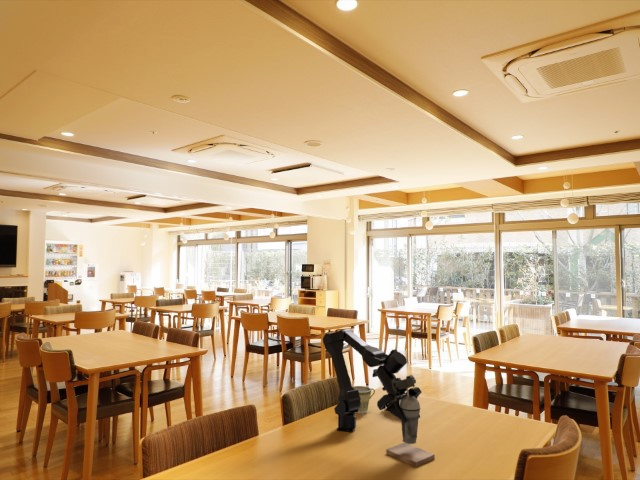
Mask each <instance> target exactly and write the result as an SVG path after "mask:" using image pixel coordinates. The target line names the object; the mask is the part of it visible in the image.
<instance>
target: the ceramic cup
mask: <svg viewBox="0 0 640 480" xmlns="http://www.w3.org/2000/svg"><path fill="white" fill-rule="evenodd" d="M352 387H353V388H354V389H355V390H358V391H359V396H360V398H361V400H360V401H361V405H360V407H359V410H358V412H356V413H355V414H360V415H361V414H366V413H368V410H369V404H370V400H371V398H372V397H373V396H374V395H375V393H376V390H375V388H373V387H372V388H370V387H369V386H365V385H354V386H352ZM372 391H373V393H372Z"/></svg>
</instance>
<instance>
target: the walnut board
mask: <svg viewBox="0 0 640 480" xmlns="http://www.w3.org/2000/svg"><path fill="white" fill-rule="evenodd" d="M385 451H386V455H389V456H390V457H393V458H395V459H397V460H399V461H402V462H404V463H406V464H408V465H411V466H413V467H415V468H417V467H420V466H422V465H424V464H426V463H429V462H430V461H433V460H435V458H436V457H435V456H436V455H435V454H434V453H432V452H430V451H427V450H425V449H422V448H419V447H417V446H415V445H414V444H407V443H405V442H402V443H399V444H397V445H394V446H392V447H388V448H386V449H385Z"/></svg>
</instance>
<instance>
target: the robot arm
mask: <svg viewBox="0 0 640 480" xmlns="http://www.w3.org/2000/svg"><path fill="white" fill-rule="evenodd" d="M344 342H345V343H346V344H347V345H349V347H351V348H352V349H354V350H355V351H356V352H357V353H359V355H361V358H362V361H363V362H364V363H365V364H366V366H368V367H369V368H375V367H377V368H375V369H372V371H373V372H372V375H371V376H372V378H377V377H378V379H379V381H380V383H381V385H382V386H383V387H382V391H383V392H385V391H386V394H383V396H381V398H379V399H378V400H377V401H376V406H377V409H378V410H379V411H382V410H384V411H385V412H388V413H390V414H391V415H393V416H395V417H396V418H397V419H398V420H400V421H401V420H402V421H403V422H404V423H406V422H407V419H406V417H405V415H404V413H403V411H402V409H401V408H400V404H399V401H400V400H402V398H403V397H405V396H407V388H408V393H409V395H411V396H414V397H415V398H416V399H417V400H418V398H419V396H420V395H421V394H422V393H423V392H422V390H421V389H420V387H418V386H416V385H415V384H416V383H417V381H416V378H415V377H414V375H413V374H411V375H407V376H406V377H405V378H404V379H401V378H400V377H397V376H396V375H395V374H398V373H399V372H400V371H401V369H403V368H404V367H405V366H406V365H407V363H408V360H407V357H406V356H405V354H403V353H401V352H400V351H398V350H397V349H391V351H390V352H389V354H387V353H385V352H384V350H381V349H380V348H378V347H375V346H372V345H370V344H368V343H367V342H365V341H364V340H363V339H362V338H361V337H359V336H358V335H357V334H356V333H354V332H353V331H352V329H350V328H344V329H343V328H342V329H340V330H337V331H333V332H327V333H324V335H323V338H322V343H323V345H324V349H325V350H326V351H327V353H329V354H330V356H331V359H332V365H333V367H334V368H333V369H334V372H335V374H336V379H337V383H338V387H339V393H338V403H337V405H335V407H334V413H335V415H337V428H336V430H337V431H340V432H341V431H342V432H349V433H353V432H354V430H355V429H356V428H357V417H356V414H357V413H356V412H358V410H359V407H360V405H361V401H360V400H361V398H360V396H359V391H358V390H355V389H354V388H353V386H352V382H351V378H350V376H349V371H348V367H347V363H346V360H345V357H344V353H343V350H344V346H345V344H344ZM420 418H421V415H420V413H419V418H418V420H419V419H420Z"/></svg>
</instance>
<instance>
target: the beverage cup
mask: <svg viewBox="0 0 640 480" xmlns="http://www.w3.org/2000/svg"><path fill="white" fill-rule="evenodd" d="M408 390H409V388H407V391H406V392H407V396H405V397H403V398H402V400H401V402H400V408H401V409H402V411H403V413H404V415H405V417H406V419H407V422H406V423H404V422H403V421H402V420H400V421H401V432H402V433H401V434H402V443H404V442H405V443H407V444H410V445H414V444H416V443H417V438H418V427H419V419H420V418H419V414H420V413H421V405H420V401H419V400H418V398H417V399H416V398H415V397H414V396H411V395H409V393H408ZM418 418H419V419H418Z"/></svg>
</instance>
